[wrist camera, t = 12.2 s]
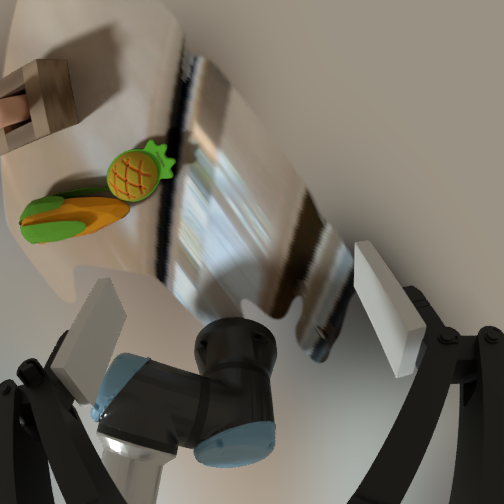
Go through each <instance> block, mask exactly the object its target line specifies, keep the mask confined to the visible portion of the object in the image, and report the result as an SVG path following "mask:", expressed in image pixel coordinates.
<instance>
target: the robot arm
mask: <svg viewBox="0 0 504 504" xmlns="http://www.w3.org/2000/svg"><path fill="white" fill-rule="evenodd" d="M354 288H355V290H356V292H357V294H358V296H359V298H360V300H361V302H362V304H363V306H364V308H365V310H366V312H367V314H368V316H369V319H370V321H371V323H372V325H373V327H374V329H375V331H376V333H377V336H378V338H379V340H380V342H381V344H382V347H383V349H384V351H385V353H386V356H387V358H388V360H389V363H390V365H391V367H392V369H393V371H394V374H395V376H396V378H399V377H402V376H406V375H410V374H413V371H414V368H415V365H416V366H417V369H418V371H417V374H416V376H415V379H414V381H413V384H412V386H411V388H410V391H409V393H408V395H407V398H406V400H405V402H404V404H403V406H402V409H401V410H400V413H399V415H398V417H397V419H396V421H395V423H394V425H393V427H392V429H391V431H390V433H389V435H388V437H387V439H386V440H385V442H384V444H383V446H382V448H381V450H380V452H379V453H378V455H377V457H376V459H375V461H374V462H373V464H372V466H371V467H370V469H369V471H368V473H367V474H366V476H365V477H364V479H363V481H362V482H361V484H360V485H359V487H358V489H357V490H356V492H355V493H354V494H353V495H352V497H351V498H350V500H349V501H348V503H347V504H400V503H401V501H402V499H403V498H404V496H405V494H406V492H407V490H408V488H409V486H410V484H411V482H412V480H413V478H414V476H415V474H416V472H417V470H418V468H419V465H420V463H421V461H422V459H423V456H424V454H425V452H426V449H427V447H428V445H429V442H430V440H431V438H432V435H433V432H434V430H435V427H436V424H437V422H438V419H439V417H440V414H441V411H442V408H443V405H444V402H445V399H446V396H447V393H448V389H449V387H450V384H460V407H459V428H458V442H457V452H456V461H455V470H454V477H453V484H452V490H451V496H450V501H449V504H504V334H503V332H502V331H501V330H500V329H498V328H496V327H493V326H485V327H483V328H481V329H480V331H479V333H478V335H477V336H461V335H460V334H459V333H458V332H457V331H456V330H455V329H453V328H451V327H445V325H444V324H443V322H442V321H441V319H440V318H439V316H438V315H437V314H436V312H435V311H434V309H433V308H432V306H430V303H429V302H428V300H426V298H425V296H424V295H423V293H422V292H421V291H420V290H418V289H417V288H415V287H414V286H407V287H403V288H402V287H401V286H400V284H399V283H398V281H397V280H396V278H395V277H394V275H393V274H392V272H391V271H390V269H389V268H388V267H387V265H386V264H385V262H384V261H383V259H382V258H381V257H380V255H379V254H378V252H377V251H376V250H375V248H374V247H373V246H372V244H371V243H370V241H369V240H368V241H361V242H355V266H354ZM126 317H127V315H126V313H125V311H124V309H123V306H122V304H121V302H120V300H119V298H118V295H117V293H116V291H115V288H114V286H113V284H112V281H111V279H110V278H103V279H98V281H97V282H96V284H95V286H94V288H93V289H92V291H91V293H90V294H89V296H88V298H87V299H86V301H85V303H84V305H83V307H82V308H81V310H80V312H79V314H78V315H77V317H76V319H75V321H74V323H73V324H72V326H71V328H70V330H66V331H65V333H63V335H62V336H61V337H60V338H59V340H58V342H57V344H56V346H55V347H54V349H53V352H52V353H51V355H50V357H49V359H48V361H47V363H46V365H45V367H44V369H43V367H42V366H41V365H40V363H39V362H38V361H37V359H34V358H31V359H28V360H26V361H24V362H23V363H22V364H21V365H20V366H19V367H18V370H17V376H18V377H19V378H20V380H21V381H22V382H23V384H24V385H20V386H17V385H16V384H15V382H14V381H13V380H11V379H9V380H5V381H3V382H2V383H1V384H0V504H55V503H54V498H53V493H52V486H51V479H50V473H49V465H48V461H49V463H50V466H51V469H52V471H53V474H54V476H55V479H56V481H57V483H58V486H59V488H60V490H61V493H62V495H63V497H64V499H65V502H66V504H156V500H157V495H158V489H159V484H160V479H161V474H162V468H163V465H165V464H166V463H167V462H169V461H170V460H172V459H174V458H176V455H177V450H178V446H181V447H186V448H190V449H194V455H195V458H196V460H197V461H198V462H200V463H203V464H204V465H206V466H211V467H218V468H232V467H240V466H246V465H249V464H253V463H256V462H258V461H260V460H262V459H264V458H265V457H267V456H268V455H269V454H270V453H271V452H272V451H273V449H274V447H275V429H276V424H275V422H274V413H273V403H272V394H271V386H270V377H271V374H272V371H273V367H274V364H275V361H276V358H277V348H276V341H275V338H274V336H273V334H272V333H271V332H270V330H269V329H267V328H266V327H265V326H263V325H262V324H260V323H258V322H255V321H253V320H249V319H244V318H226V319H221V320H218V321H215V322H212V323H210V324H209V325H207V326H206V327H204V328H203V329H202V330H201V331H200V333H199V334H198V336H197V338H196V341H195V349H194V355H195V360H196V363H197V366H198V369H199V373H200V375H198V374H195V373H191V372H188V371H185V370H181V369H178V368H175V367H172V366H168V365H166V364H162V363H159V362H156V361H153V360H151V358H149V357H147V358H144V357H141V356H137V355H134V354H131V353H122V354H120V355H118V356H117V357H116V358H115V359H114V360H113V362H112V363H111V365H110V367H109V368H108V371H107V372H106V370H107V367H108V364H109V361H110V359H111V356H112V353H113V351H114V348H115V345H116V343H117V340H118V337H119V335H120V332H121V330H122V327H123V324H124V322H125V320H126ZM105 373H106V374H105ZM74 399H75V400H76V401H77V403H78V404H79V405H80V406H82V407H92V409H91V415H90V416H91V418H92V419H93V420H94V421H95V422H99V425H98V429H97V433H96V434H97V436H98V437H99V439H100V441H101V442H102V444H103V447H104V451H103V455H102V459H100V457H99V455H98V454H97V452H96V450H95V448H94V446H93V444H92V442H91V440H90V438H89V436H88V434H87V432H86V430H85V428H84V426H83V424H82V422H81V420H80V417H79V415H78V413H77V411H76V409H75V408H74V406H73V405H72V404H73V401H74ZM20 422H21V424H20Z"/></svg>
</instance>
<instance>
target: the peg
mask: <svg viewBox="0 0 504 504" xmlns="http://www.w3.org/2000/svg"><path fill="white" fill-rule="evenodd" d="M28 119H31V115H30V110H29V105H28V100H27V95H26V94H24V95H19V96H13V97H9V98H4V99H0V128H3V127H6V126H9V125H12V124H15V123H18V122H21V121H24V120H28Z"/></svg>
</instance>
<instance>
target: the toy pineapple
mask: <svg viewBox="0 0 504 504" xmlns="http://www.w3.org/2000/svg"><path fill="white" fill-rule="evenodd" d="M166 150H167V145H166V144H161V145H157V144H156V143H155V141H154V140H153V139H151V140H149V141H148V143H147V145H146V147H145V148H144V149H131V150H128V151H126V152H123V153H122V154H120V155H118V156H117V157H116V158H115V159H114V161H113V162H112V163H111V165H110V167H109V169H108V172H107V183H108V186H109V189H110V190H111V192H112V193H113V194H114V196H116V197H117V198H118V199H120V200H122V201H126V202H136V201H140V200H142V199H144V198H146V197H148V196H149V195H150V194H151V193H152V192H153V191H154V190H155V189H156V187H157V186H158V184H159V181H160V179H169V178H172V177H173V172H172V171H171V167H172V166H173V165H174V164H175V163H176V160H175V159H174V158H168V157H167V156H166V155H165V152H166Z"/></svg>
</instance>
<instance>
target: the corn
mask: <svg viewBox="0 0 504 504" xmlns="http://www.w3.org/2000/svg"><path fill="white" fill-rule="evenodd" d="M108 190H110V189H109V187H94V188H82V189H76V190H71V191H65V192H61V193H57V194H53V195H49V196H46V197H43V198H40V199H37V200H34V201H32V202H31V203H29V204H28V205H27V207H26V208H25V210H24V211H23V213H22V215H21V217H20V221H19V224H20V225H22V227H20V229H21V233H22V235H23V237H24V238H25V239H26V240H27V241H29V242H30V243H31V244H35V243H39V244H44V243H48V242H54V241H59V240H63V239H67V238H72V237H77V236H82V235H86V234H91V233H94V232H96V231H98V230H100V229H102V228H104V227H106V226H108V225H110V224H112V223H114V222H116V221H118V220H120V219H122V218H124V217H125V216H126V215H127V214H128V213H129V212H130V208H129V205H128V204H127V203H125V202H124V201H122V200H120V199H113V198H103V197H84V198H71V197H75V196H82V195H87V194H91V193H96V192H103V191H108ZM67 198H71V199H67ZM64 199H65V200H64Z"/></svg>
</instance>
